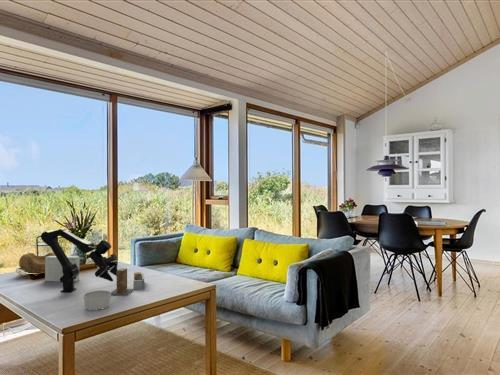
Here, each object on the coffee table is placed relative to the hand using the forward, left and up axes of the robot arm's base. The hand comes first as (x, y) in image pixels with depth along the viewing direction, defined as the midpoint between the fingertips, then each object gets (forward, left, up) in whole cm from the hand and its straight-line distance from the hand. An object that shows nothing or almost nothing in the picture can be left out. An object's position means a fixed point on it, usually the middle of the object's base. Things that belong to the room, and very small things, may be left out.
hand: (116, 278), depth 213 cm
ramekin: (-25, -1, -8) cm, 26 cm away
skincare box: (+21, +46, -8) cm, 52 cm away
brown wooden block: (0, -3, -7) cm, 8 cm away
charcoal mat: (0, -3, -8) cm, 9 cm away
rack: (+15, -8, -8) cm, 18 cm away
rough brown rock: (+34, +72, -8) cm, 80 cm away
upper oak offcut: (+14, -7, -4) cm, 17 cm away
